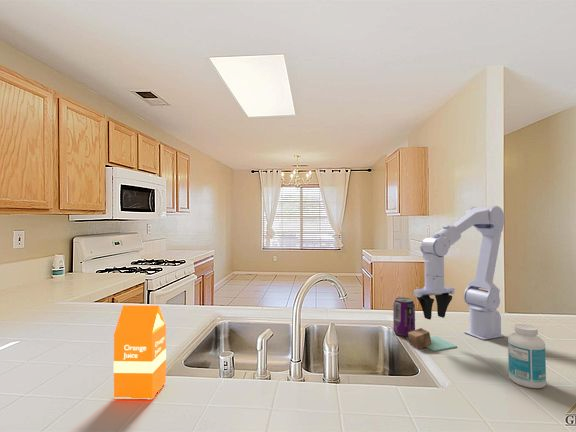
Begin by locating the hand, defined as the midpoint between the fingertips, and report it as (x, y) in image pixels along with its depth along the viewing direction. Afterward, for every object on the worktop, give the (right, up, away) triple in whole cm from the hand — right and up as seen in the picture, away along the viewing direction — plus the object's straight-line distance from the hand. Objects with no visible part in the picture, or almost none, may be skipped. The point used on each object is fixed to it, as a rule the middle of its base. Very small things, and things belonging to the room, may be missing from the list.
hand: (434, 317), depth 106 cm
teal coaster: (0, -8, 0) cm, 8 cm away
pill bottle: (+12, -8, -25) cm, 28 cm away
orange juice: (-81, -9, -28) cm, 86 cm away
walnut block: (-3, -6, -1) cm, 6 cm away
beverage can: (-6, -9, +9) cm, 14 cm away
